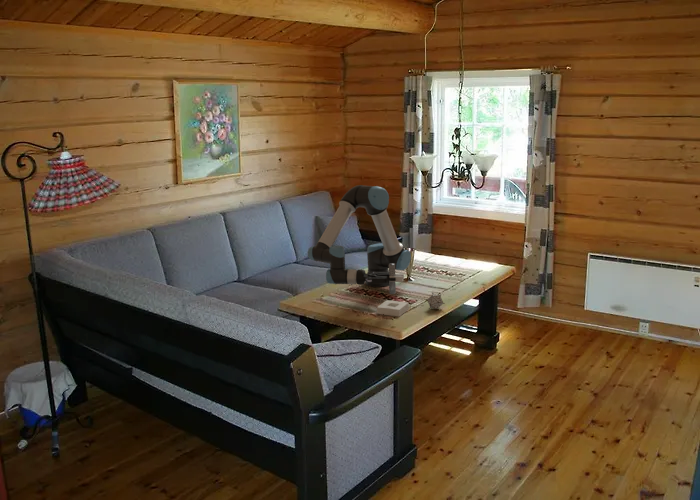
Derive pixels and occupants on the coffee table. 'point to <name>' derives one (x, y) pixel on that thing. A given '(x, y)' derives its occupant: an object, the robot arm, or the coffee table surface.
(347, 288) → the coffee table surface
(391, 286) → the pin
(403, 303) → the socket block
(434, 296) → the game die
